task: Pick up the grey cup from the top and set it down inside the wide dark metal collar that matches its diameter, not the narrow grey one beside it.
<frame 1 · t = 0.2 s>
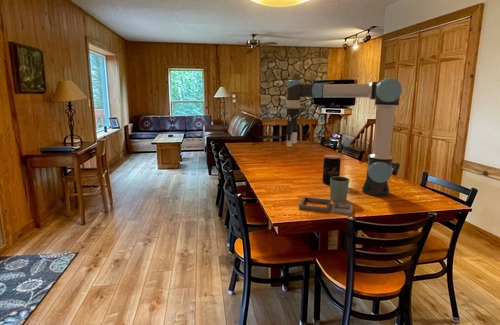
hand: (291, 144, 183), 28 cm above the table, tool pointing down, fingers open, 13 cm apart
grey cup: (338, 200, 172), on the table
narrow collar: (342, 210, 156), on the table
coffee jar: (330, 183, 206), on the table
wide collar: (315, 206, 161), on the table
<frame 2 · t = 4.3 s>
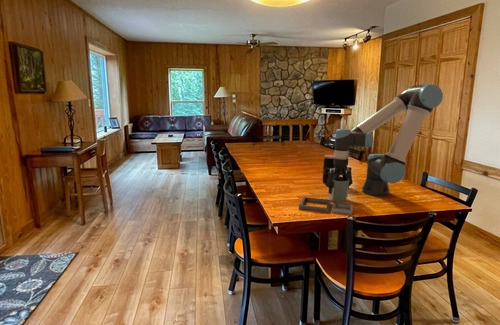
hand: (338, 197, 172), 1 cm above the table, tool pointing down, fingers closed on grey cup, 9 cm apart
grey cup: (338, 200, 172), on the table, touching gripper
everything else where it was.
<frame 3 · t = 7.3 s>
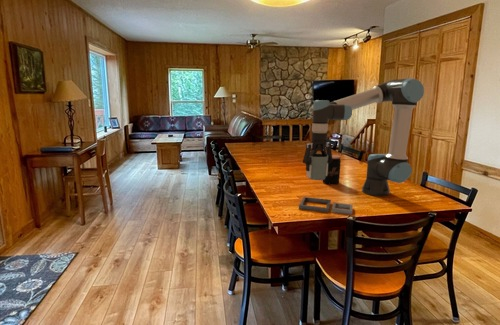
hand: (316, 176, 158), 16 cm above the table, tool pointing down, fingers closed on grey cup, 9 cm apart
grey cup: (316, 178, 159), point 15 cm above the table, touching gripper
everything else where it was.
when the fingers open (4 cm above the table, at t = 10.4 s): grey cup drops 3 cm, resting in wide collar.
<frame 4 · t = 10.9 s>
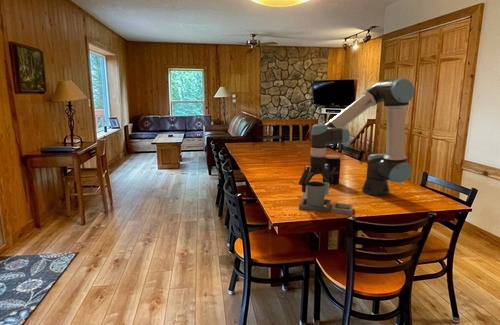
hand: (315, 196, 160), 5 cm above the table, tool pointing down, fingers open, 13 cm apart
grey cup: (315, 206, 161), resting in wide collar
everything else where it was.
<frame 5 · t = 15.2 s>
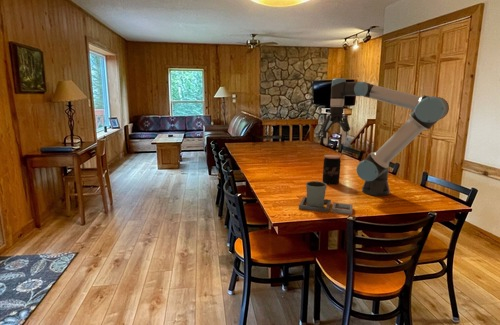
hand: (334, 143, 183), 29 cm above the table, tool pointing down, fingers open, 13 cm apart
nothing on the table moved.
at the end: grey cup 0.1 cm off-centre on the wide collar, point 0.0 cm above the wide collar's base; grey cup tilted 0°; the gripper is holding nothing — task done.
